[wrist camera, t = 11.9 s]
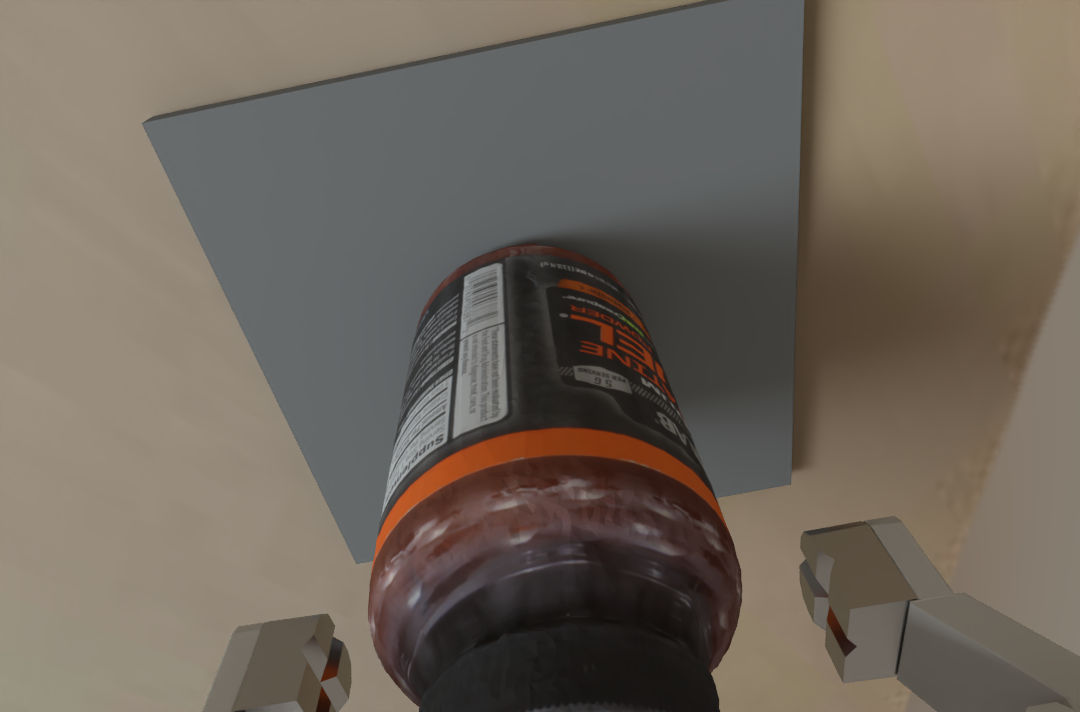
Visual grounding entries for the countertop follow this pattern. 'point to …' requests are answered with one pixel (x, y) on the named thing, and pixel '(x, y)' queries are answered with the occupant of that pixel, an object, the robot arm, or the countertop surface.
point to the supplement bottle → (547, 506)
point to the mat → (515, 220)
